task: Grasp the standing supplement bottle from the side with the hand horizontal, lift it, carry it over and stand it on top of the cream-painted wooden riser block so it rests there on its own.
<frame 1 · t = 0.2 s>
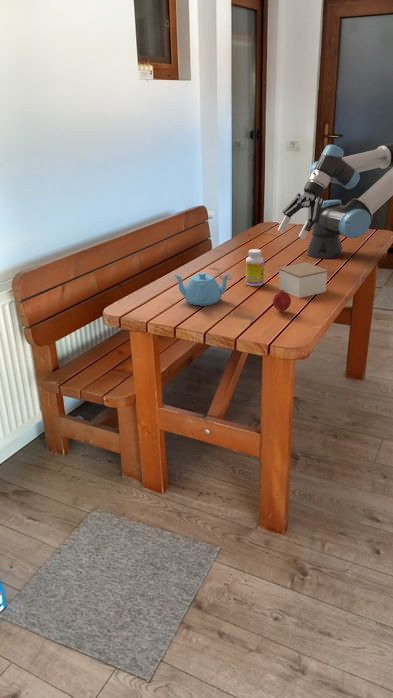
hand: (290, 235, 223), 15 cm above the table, tool tilted 35°, fingers open, 13 cm apart
teapot: (203, 302, 201), on the table
onion: (281, 312, 189), on the table
supplement bottle: (254, 284, 217), on the table
riser block: (302, 290, 208), on the table
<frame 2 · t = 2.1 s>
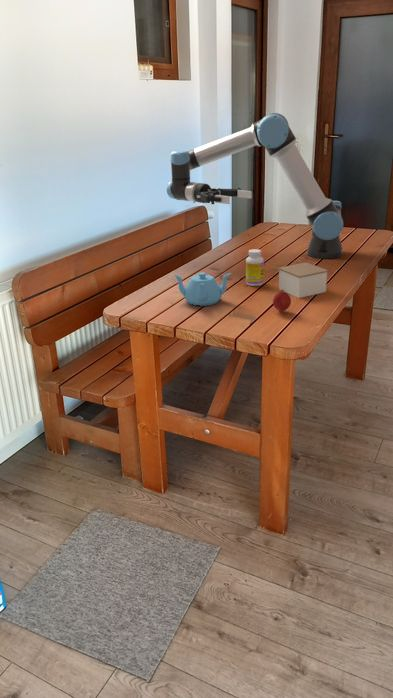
hand: (240, 197, 218), 30 cm above the table, tool horizontal, fingers open, 13 cm apart
nothing on the table moved.
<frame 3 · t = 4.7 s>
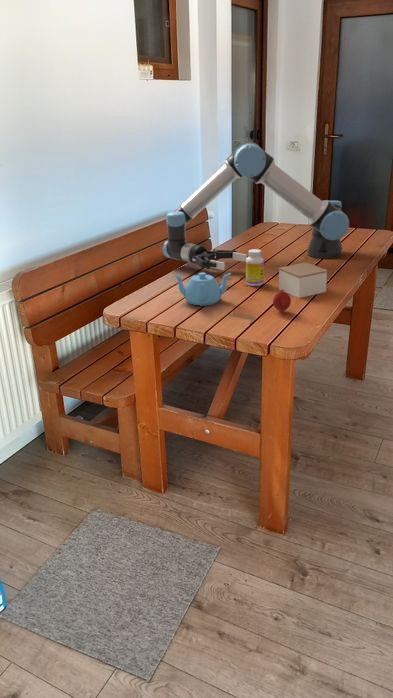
hand: (235, 262, 220), 7 cm above the table, tool horizontal, fingers open, 13 cm apart
nothing on the table moved.
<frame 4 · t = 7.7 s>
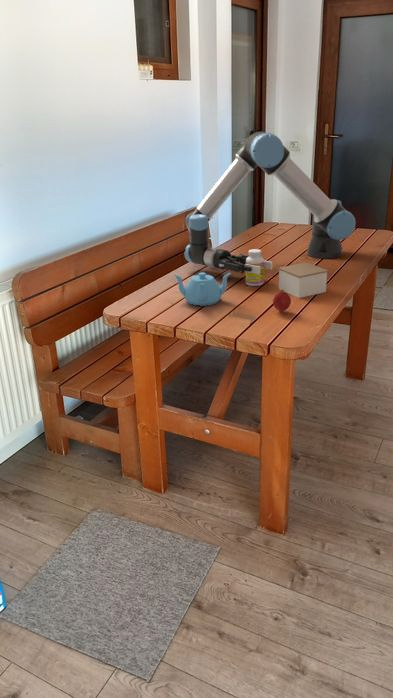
hand: (265, 268, 211), 7 cm above the table, tool horizontal, fingers closed on supplement bottle, 7 cm apart
supplement bottle: (254, 284, 217), on the table, touching gripper
everything else where it was.
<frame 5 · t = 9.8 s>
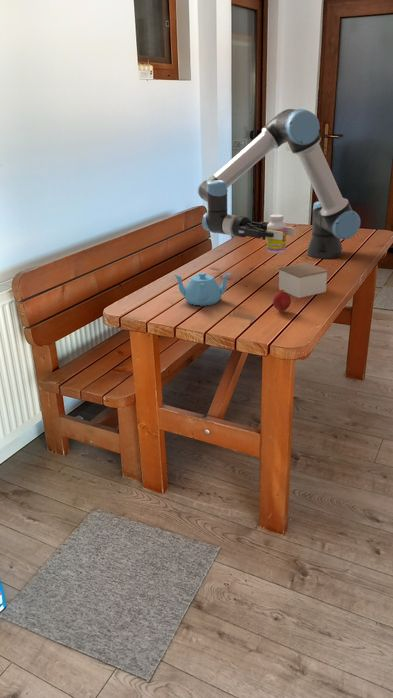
hand: (288, 233, 200), 21 cm above the table, tool horizontal, fingers closed on supplement bottle, 7 cm apart
supplement bottle: (276, 252, 207), point 13 cm above the table, touching gripper
everything else where it was.
when the fingers open (16 cm above the table, at t = 11.8 s): supplement bottle drops 1 cm, resting on riser block.
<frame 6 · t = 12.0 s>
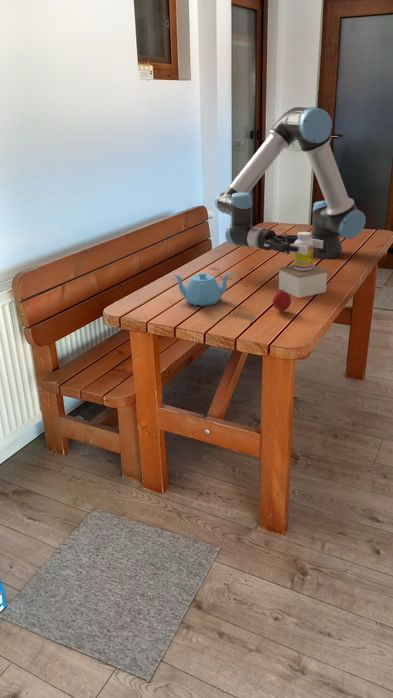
hand: (314, 247, 199), 16 cm above the table, tool horizontal, fingers open, 9 cm apart
supplement bottle: (303, 269, 205), point 8 cm above the table, touching riser block
everything else where it was.
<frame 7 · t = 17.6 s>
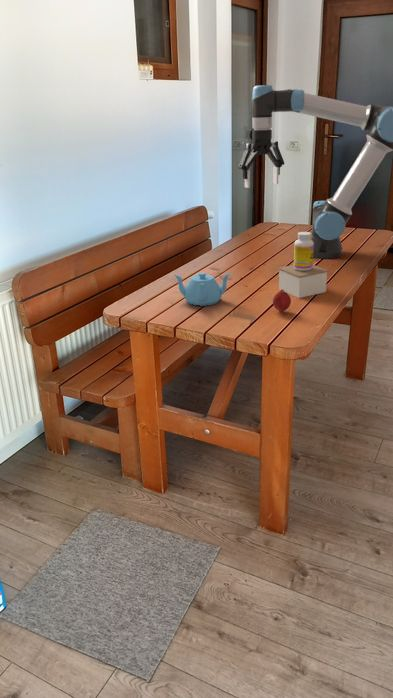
hand: (261, 185, 230), 32 cm above the table, tool pointing down, fingers open, 13 cm apart
nothing on the table moved.
at the end: supplement bottle inside the target area on the riser block (0.1 cm from its centre), point 7.8 cm above the riser block's base; supplement bottle tilted 0°; supplement bottle touching riser block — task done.
